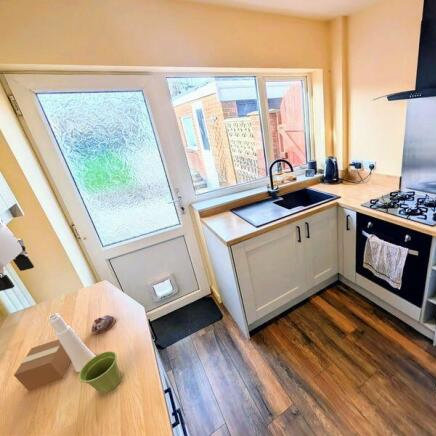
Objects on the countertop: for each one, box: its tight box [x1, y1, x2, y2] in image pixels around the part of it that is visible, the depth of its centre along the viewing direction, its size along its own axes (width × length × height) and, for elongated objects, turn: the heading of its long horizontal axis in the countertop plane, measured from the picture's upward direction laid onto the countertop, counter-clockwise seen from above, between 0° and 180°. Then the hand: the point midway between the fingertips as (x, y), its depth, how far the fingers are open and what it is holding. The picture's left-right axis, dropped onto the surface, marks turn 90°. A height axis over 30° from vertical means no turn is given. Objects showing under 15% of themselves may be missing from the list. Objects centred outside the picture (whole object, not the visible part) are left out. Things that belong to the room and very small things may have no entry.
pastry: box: [91, 314, 116, 335], centre depth 97 cm, size 8×8×5 cm
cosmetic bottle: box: [48, 312, 97, 373], centre depth 79 cm, size 6×6×22 cm
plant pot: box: [77, 350, 122, 395], centre depth 74 cm, size 9×9×9 cm
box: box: [13, 338, 72, 392], centre depth 80 cm, size 9×10×8 cm
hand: (17, 278), depth 69 cm, fingers open, 9 cm apart
